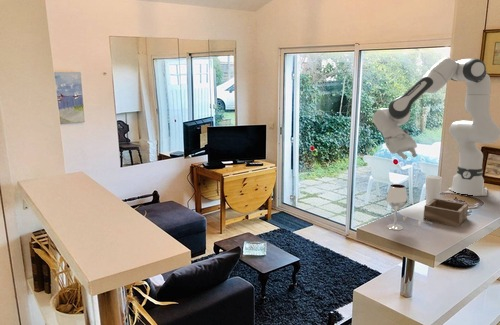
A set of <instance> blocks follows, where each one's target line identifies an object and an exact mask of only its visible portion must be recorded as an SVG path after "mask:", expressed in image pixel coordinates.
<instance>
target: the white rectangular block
mask: <svg viewBox="0 0 500 325" xmlns="http://www.w3.org/2000/svg"><path fill="white" fill-rule="evenodd" d="M425 178H426V179H425V205H426V204H428V203H429V202H431V201H432V200H433V199H440V195H441V190H442V183H443V181H442V180H443V179H442V178H443V177H441V176H439V175H426V177H425Z"/></svg>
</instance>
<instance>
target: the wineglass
mask: <svg viewBox="0 0 500 325" xmlns="http://www.w3.org/2000/svg"><path fill="white" fill-rule="evenodd" d="M385 199H386V202H387V204H388V205H389V206H390V207H391V208H392V209H393V210H394V222H393V223H392V224H391V223H390V224H388V225H386V228H388V229H389V230H391V231H392V230H393V231H401V230H403V229H404V227H403V225H400V224H397V220H398V219H397V217H398V216H397V215H398V211H399V210H400V209H402V208H404V206H406V205H407V203H408V199H409V198H408V193H407V188H406V185H404V184H398V183H397V184H396V183H392V184H390V186H389V188H388V192H387V194H386V198H385Z"/></svg>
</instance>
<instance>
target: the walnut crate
mask: <svg viewBox="0 0 500 325" xmlns="http://www.w3.org/2000/svg"><path fill="white" fill-rule="evenodd" d="M468 208H469V204H468V203H461V202H456V201H452V200H451V201H450V200H445V199H441V198H439V199H433V200H432V201H431V202H429V203H428V204H426V203H425V205H424V207H423V210H424V211H423V219H422V220H423V221H427V222H431V223H432V222H433V223H437V224H441V225H447V226H450V227H455V228H459V227H460V226H461V225H462V224H463V223H465V220H467V217H468Z"/></svg>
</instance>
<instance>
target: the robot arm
mask: <svg viewBox="0 0 500 325" xmlns="http://www.w3.org/2000/svg"><path fill="white" fill-rule="evenodd" d="M450 80H452V81H453V82H464V83H465V84H466V91H465V100H464V110H465V112H467V113H468V114H469V115H470V116H471V118H472V120H466V119H465V120H456V121H453V122H452V123H451V124H450V126H449V129H448V131H449V132H448V133H449V136H450V137H451V138H452V139H453V140H454V141H455V143H456V145H457V149H458V154H459V156H458V159H459V160H458V165H457V169H456V172H457V173H456V174H454V175H453V177H452V184H451V187H448V190H449V191H451V192H453V191H454V192H456V193H455V194H457V193H461V194H468V195H473V196H472V197H486V196H488V187H486V186H485V183H484V182H485V179H484V177H483V174H484V173H483V172H484V169H483V160H484V153H483V152H482V151H481V150H480V149H479V148H478V147H477V145H476V143H479V144H495V143H496V142H497V141H498V140H499V138H500V126H499V125H498V124H496V122H495V121H494V120H493V118H492V115H491V113H490V102H491V101H490V100H491V92H492V91H491V90H492V88H491V86H492V84H491V83H492V82H491V77H490V75H489V74H488V73H487V67H486V64H485V62H484V61H483V60H482V59H479V58H464V59H459V60H457V59H456V60H455V59H453V58H451V57H443V58H441V59H440V60H439V61H437V62H435V63H434V65H432V66H431V67H430V68H429V69H428V70H427V71H426V72H425V73H424V74H423V76H422V77H421V78H420V79H419V80H418V81H417V82H415V83H414V84H413V85H412V86H411V87H410V88H408V90H406V91H405V93H403V94H402V95H400V96H398V97H396V98H394V99H392V100H391V102H389V105H388V108H387V107H386V108H382V107H381V108H378V109H377V110H376V111H375V112H374V114H373V115H372V121H373V123H374V124H373V125H375V127H376V129H378V131H379V132H380V133H381V134H382V137H383V138H384V142H385V146H386V148H387V149H388V151H389V153H391V154H393V155H394V154H396V155H397V156H399V157H401V159H402V160H406V159H408V155H407V154H405V153H404V152H406V153H407V152H410V153H411V156H412V157H413V158H416V157H418V154H417V153H416V152H417V151H416V148H417V147H418V146H417V143H416V141H415V139H413V137H412V136H411V134H410V132H409V131H408V130H406V129H402V128H400V127H401V126H403V125H405V124H407V123H408V122H409V121H410V119H411V109H412V106H413V104H414V103H415V102H416V101H418V100H419V99H420V98H421V97H422V96H423V95H424V94H425V93H430V94H434V93H437V92H438V91H440V90H441V89H442V88H443V87H444V86H445V85H447V83H448V82H449V81H450ZM409 134H410V135H409ZM454 192H453V193H454ZM461 194H460V195H461Z"/></svg>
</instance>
